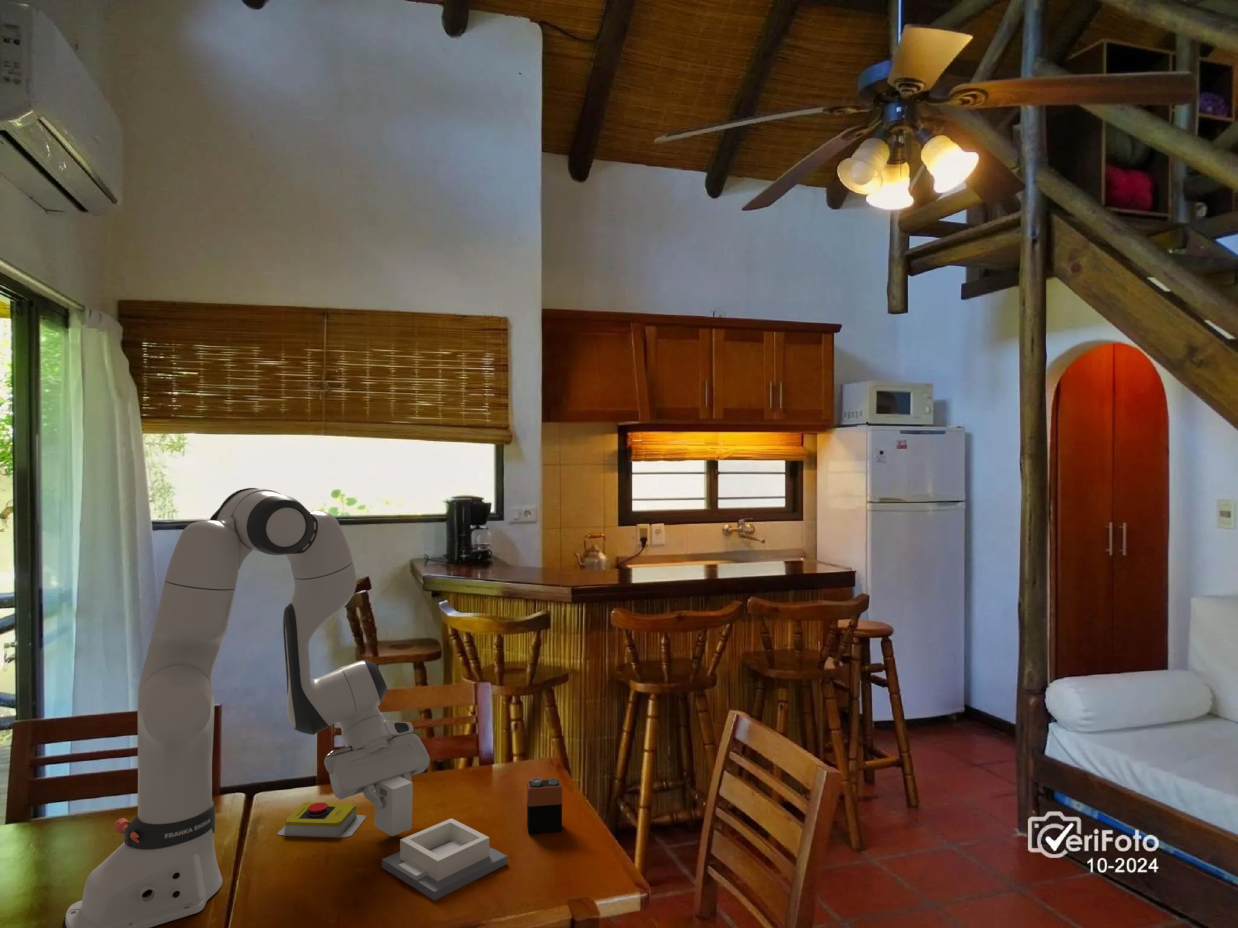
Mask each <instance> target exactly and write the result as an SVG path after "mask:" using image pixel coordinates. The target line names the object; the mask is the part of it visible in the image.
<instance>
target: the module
mask: <svg viewBox="0 0 1238 928" xmlns="http://www.w3.org/2000/svg"><path fill="white" fill-rule="evenodd" d="M413 784H414V783H413V782H412V780H411V781H409V780H407V779H405V778H403V777H400V776H396V777H393V778H390V779H386V780H383V781H380V782H377V783H375V790H374V792H375V793H376V794H377V795H378V796H379V797H383V796H384V798H385V801H386V804H387V805H386V806H385V808H383V809H380V810H378V811H377V810H376V808H375V807H374V828H377V829H378V830H380V831H382V832H383V833H385V834H387V835H389V836H390V837H394V836H396V835H398V834H401V833H404V832H406V831H409V830H412V829H413V796H412V795H414V794H413V789H414V785H413Z"/></svg>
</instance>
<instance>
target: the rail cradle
mask: <svg viewBox="0 0 1238 928" xmlns="http://www.w3.org/2000/svg"><path fill="white" fill-rule="evenodd" d="M399 841H400V842H399V847H400V848H399V849H400V851H398V852H395V853H393V854H390V855H388V856H386V857H385V858H384V857H383V858H382V859H381V868H382V869H384V870H385V871H387V872H388V873H390V874H392V875H393V876H395V877H396V878H398V879H400V880H401V881H402V882H404V883H405V884H408V885H409V886H411V887H412V888H414V889H415V890H416V891H418V892H420V893H421V894H423V895H424V896H426V897H428V898H429V899H431V900H433V901H436V900H437V901H438V899H441V898H442V897H444V896H447V895H448V894H450V893H452V892H455V891H456V890H459V889H461V888H462V887H464V886H466V885H469V884H470V883H473V882H474V881H477V880H478V879H480V878H483V877H484V876H486V875H488V874H490V873H492V872H494V871H497V870H498V869H501V868H502V867H504V866H506V865H508V855H507V854H504V853H502V852H500V851H499V850H497V849H495V848H493V847H491V846H490V837H489V836H487V835H486V834H484V833H482V832H479V831H477V830H476V829H475V828H472V827H471V826H467V825H466V824H464V823H462V822H460V821H458V820H456V819H454V818H451V817H450V818H449V819H446V820H444V821H441V822H439V823H437V824H435V825H432V826H430V827H427V828H425V829H422V830H421V831H418V832H415V833H413V834H410V835H408V836H405V837H403V838H401V839H399Z"/></svg>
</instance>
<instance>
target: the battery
mask: <svg viewBox="0 0 1238 928" xmlns="http://www.w3.org/2000/svg"><path fill="white" fill-rule="evenodd" d="M526 829H527V833H528V834H529V835H536V834H548V833H559V832H562V831H563V787H562V782H561V780H560V779H558V778H556V777H551V778H549V779H542V778H539V777H534V778H532V779H531V780H529V781H527V783H526Z"/></svg>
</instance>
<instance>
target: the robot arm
mask: <svg viewBox="0 0 1238 928" xmlns="http://www.w3.org/2000/svg"><path fill="white" fill-rule="evenodd" d="M252 552H257V553H258V552H259V553H263V554H266V555H270V556H284V555H285V556H286V557H287V559H288V562H289V564H290V568H291V573H292V576H293V580H294V590H293V595H292V598H291V601H290V603H288V604H287V605H286V607H285V608H284V611H283V619H282V625H283V626H282V628H283V629H282V630H283V645H284V646H283V647H284V648H283V649H284V660H285V661H284V663H285V672H286V675H285V676H286V695H287V696H286V713H287V717H288V721H289V722H290V724H291V726H292V728H293V730H295V731H296V732H298V733H299V732H300V733H302V734H306V735H312V736H315V735H316V734H318V733H320V732H322V731H323V730H326V729H328V728H329V727H330V726H332V725H335V724H338V725H339V727H340V729H341V737H342V740H343V742H344V745H345V747H342V748H340V749H337V750H332V751H329V752H328V754H327V755H326V756H325V757H324V761H323V763H324V767H325V769H326V771H327V772H328V775H329V780H330V781H329V782H330V785H331V788H332V792H333V796H335V798H337V799H338V800H344V799H346V798H347V799H348V798H349V797H353V796H355V795H359V794H362V793H363V796H364V798H365V799H367V800H368V801H370V802H371V803H372V804H373V805H374V809H375V808H376V810H377V811H378V810H380V809H383V808H385V806H386V805H387V804H386V801H385V798H384V796H383V797H379V796H378V795H377V794H376V793H375V783H377V782H380V781H383V780H386V779H390V778H393V777H396V776H400V777H403V778H405V779H407V780H409V781H411V782H412V778H413V776H416V775H418V774H423V772H425V771H426V770H427V769H428V767H429V766H430V763H431V758H430V757H431V756H430V755H429V753H428V751H427V749H426V747H425V745H424V744H423V742H422V740H421V738H420V737H419V736H418V735H417V734H415V733H413V731H414V726H413V724H412V723H411V722H409V721H408V722H407V721H394V720H388V719H386V718H385V716H384V714H383V713H382V712H381V711H380V708H379V706H380V705H381V704H382V703H383V701H384V699H385V696H386V695H387V692H388V687H387V684H386V681H385V679H384V678H383V675H382V673H381V671H380V669H379V666H378V665H377V664H376V663H374V662H372V661H370V660H366V659H363V660H358V661H355V662H353V663H350V664H347V665H343V666H340V667H337V668H336V669H335V670H333V671H330V672H328V673H326V674H323V675H320V676H318V677H314V678H312V677H311V666H310V665H311V664H310V652H309V651H310V647H309V645H310V641H311V639H312V637H313V636H314V635H315V633H316V632H317V631H318V630H319V629H320V628H321V627H322V625H325V623H327V622H328V621H329V620H331V618H333V617H334V616H336V615H337V614H338V613H339V612H340V611H342V610H343V609H344V608H345V606H347V604H348V603H349V602H350V601H351V599H352V598H353V596H354V594H355V591H356V588H357V574H356V573H357V572H356V570H355V564H354V560H353V556H352V553H351V550H350V547H349V544H348V541H347V539H346V536H345V534H344V531H343V529H342V527H341V525H340V523H339V521H338V519H337V518H336V517H335V516H334V515H333V514H331V513H329V512H326V511H321V510H319V511H318V510H315V511H309V510H308V509H307V508H306V507H305V506H304V505H303V504H302V503H301V502H300V501H298V499H295V497H294V498H293V497H291V496H289V495H285V494H284V495H283V494H281V493H280V492H278V491H275V490H271V489H265V488H257V487H247V488H242V489H239V490H237V491H234V492H233V493H231V494H230V495H229V496H228V497H226V498H225V500H224V501H223V502H222V504H220V506H219V508H218V509H217V510H216V511H215V512H214V513H213V514H212V515H211V517H210V519H204V520H198V521H195V522H192V523H189V524H188V525H187V526H186V527H184V529H183V530H182V532H181V533H180V535H179V538H178V539H177V542H176V545H175V546H174V549H173V552H172V555H171V558H170V561H169V564H168V566H167V570H166V573H165V578H164V583H163V587H162V591H161V596H160V599H159V605H158V609H157V614H156V617H155V622H154V627H153V630H152V633H151V637H150V641H149V644H148V648H147V653H146V656H145V661H144V665H143V669H142V673H141V677H140V682H139V684H138V692H137V693H138V694H137V695H138V699H137V814H136V816H135V817H134V818H133V820H132V821H129V820H128V819H127V818H125V817H122V818H119V819H118V820H116V821H115V823H114V826H113V827H114V830H115V831H117V832H118V834H120V835H123V834H124V837H123V838H124V842H123V843H121V844H120V845H119V846H118V847H117V848H116V849H115V850H114V851H113V852H112V853H110V855H109V856H108V857H106V858H105V859H104V860H103V861H102V862H101V863H100V864H99V865H98V866H97V867H95V868H94V869H93V870H92V871H91V872H90V873H89V874H88V876H87V879H86V881H85V884H84V887H83V892H82V899H81V900H78V901H76V902H74V903H73V904H71V905H70V906H69V907H68V908H67V911H66V913H65V917H64V918H65V920H64V922H65V923H64V924H65V928H153V927H156V926H158V925H163V924H165V923H169V922H172V921H176V920H178V919H182V918H185V917H188V916H191V915H193V914H197V913H200V912H201V911H202V910H203V909H204V908H205V906H206V904H207V901H208V900H209V899H211V898H212V897H213V896H214V895H215V894H216V893H217V892H218V891H219V890H220V888H221V887H222V885H223V877H222V875H221V874H222V873H221V872H220V868H219V864H218V860H217V856H216V854H217V853H216V848H215V841H214V834H215V831H216V808H215V807H216V806H215V801H214V800H213V749H214V729H215V695H214V691H213V687H212V685H213V684H212V683H213V675H214V671H215V668H216V664H217V660H218V656H219V654H220V651H221V647H222V644H223V641H224V638H225V636H226V634H227V630H228V629H227V628H228V623H229V620H230V615H231V611H232V606H233V603H234V602H233V601H234V596H235V592H236V587H237V582H238V578H239V570H240V569H241V567H242V564H243V562H244V561H245V559H246V557H247V556H248V555H249V554H250V553H252ZM413 795H414V794H413ZM413 795H412V797H413Z"/></svg>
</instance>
